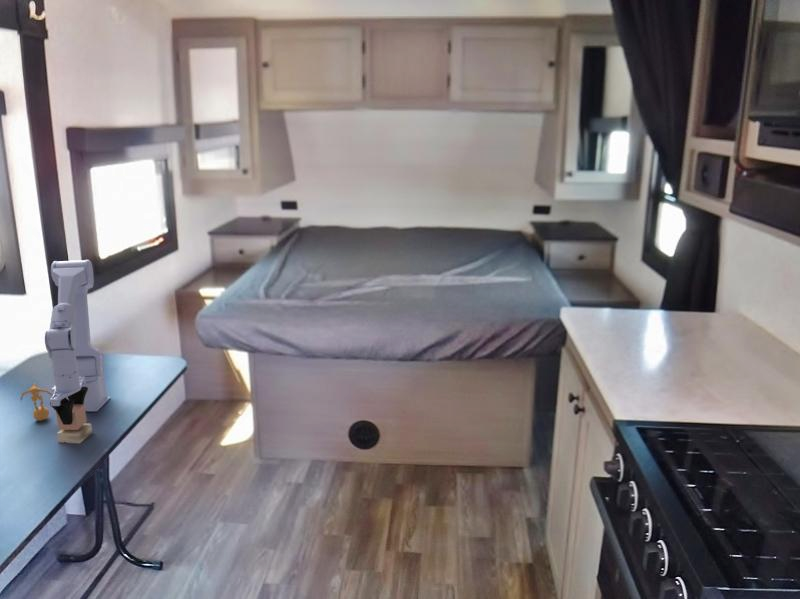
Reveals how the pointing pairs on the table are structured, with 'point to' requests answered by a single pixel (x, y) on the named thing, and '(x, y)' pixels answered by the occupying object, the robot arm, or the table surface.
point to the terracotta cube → (74, 418)
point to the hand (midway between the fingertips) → (72, 419)
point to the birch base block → (75, 434)
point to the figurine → (39, 412)
